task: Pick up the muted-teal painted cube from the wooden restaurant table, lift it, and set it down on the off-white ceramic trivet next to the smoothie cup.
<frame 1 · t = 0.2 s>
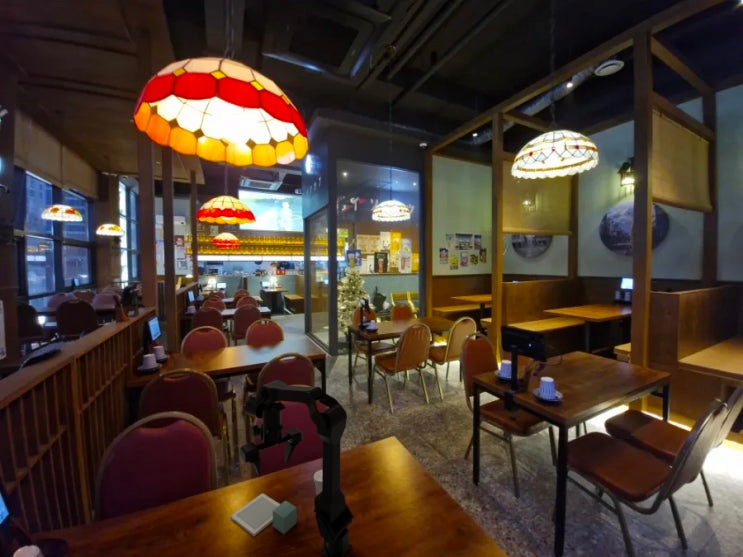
hand: (273, 469, 101), 14 cm above the table, fingers open, 9 cm apart
smoothie: (323, 504, 105), on the table
trivet: (258, 514, 100), on the table
cube: (284, 524, 96), on the table
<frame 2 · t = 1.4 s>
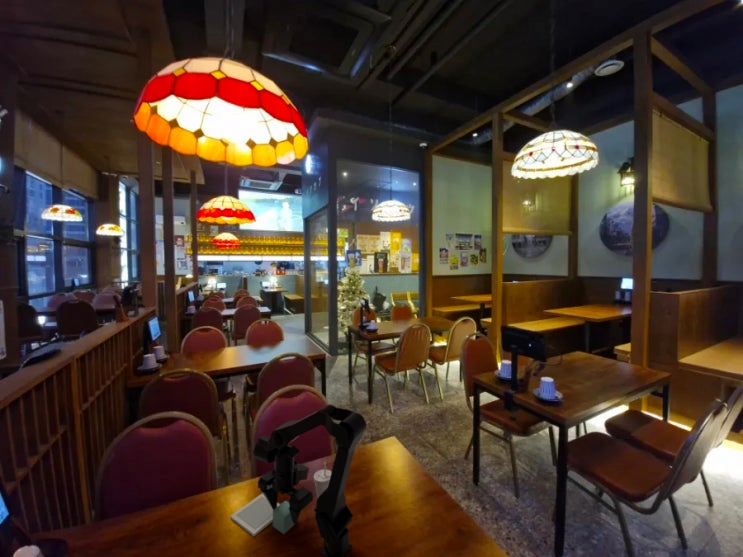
hand: (284, 516, 96), 3 cm above the table, fingers open, 9 cm apart
nothing on the table moved.
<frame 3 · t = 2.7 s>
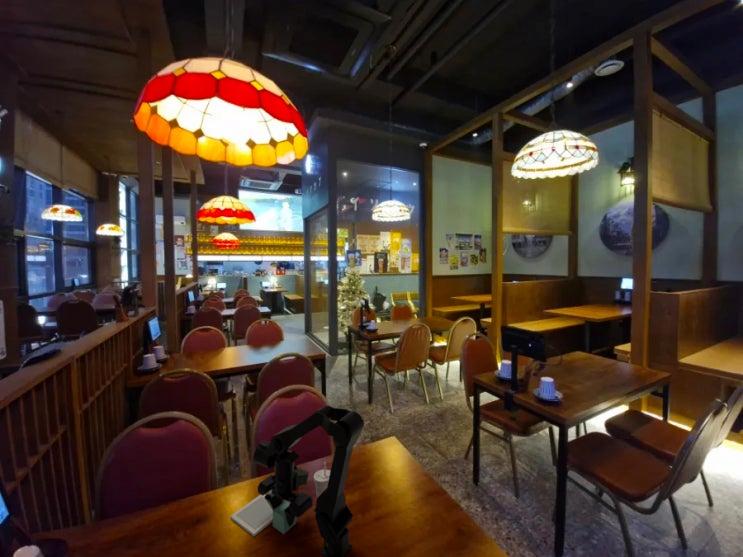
hand: (284, 521, 96), 1 cm above the table, fingers closed on cube, 5 cm apart
cube: (284, 524, 96), on the table, touching gripper
everything else where it was.
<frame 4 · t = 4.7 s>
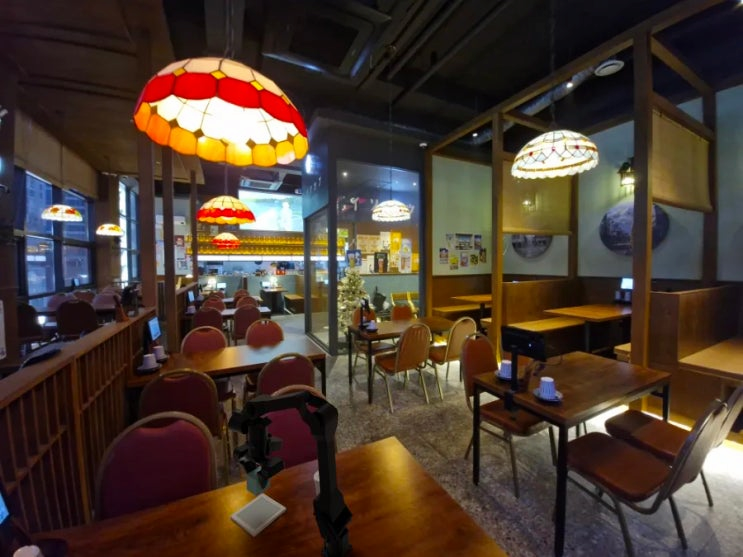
hand: (258, 485, 100), 10 cm above the table, fingers closed on cube, 5 cm apart
cube: (258, 488, 100), point 9 cm above the table, touching gripper
everything else where it was.
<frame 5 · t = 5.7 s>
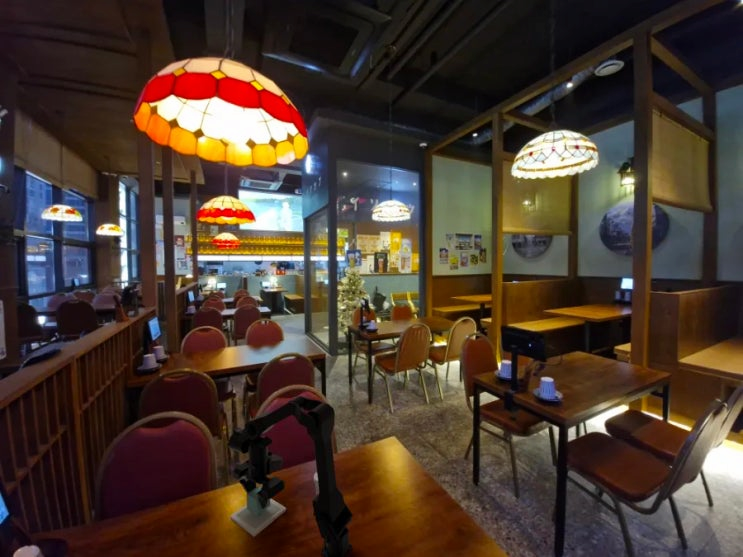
hand: (258, 504, 100), 3 cm above the table, fingers closed on cube, 5 cm apart
cube: (258, 507, 100), point 2 cm above the table, touching gripper
everything else where it was.
when the fingers open (3 cm above the table, at t = 6.6 s): cube drops 1 cm, resting on trivet.
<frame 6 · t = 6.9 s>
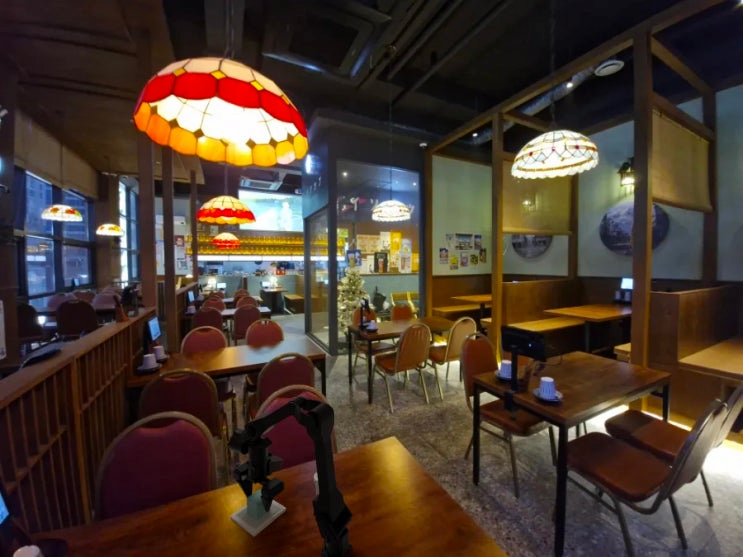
hand: (258, 505, 100), 3 cm above the table, fingers open, 9 cm apart
cube: (258, 511, 100), point 1 cm above the table, touching trivet
everything else where it was.
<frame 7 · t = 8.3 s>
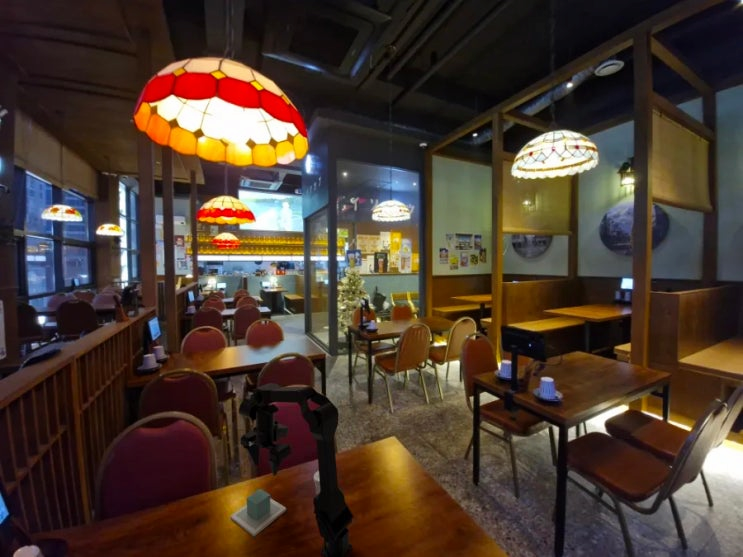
hand: (265, 470, 103), 12 cm above the table, fingers open, 9 cm apart
nothing on the table moved.
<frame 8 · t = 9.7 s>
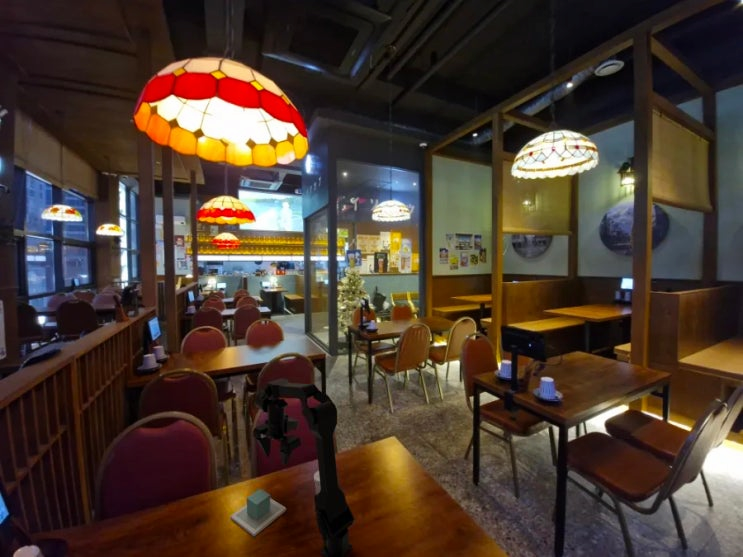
hand: (276, 461, 108), 12 cm above the table, fingers open, 9 cm apart
nothing on the table moved.
at the end: cube inside the target area on the trivet (0.1 cm from its centre), point 0.9 cm above the trivet's base; cube tilted 0°; the gripper is holding nothing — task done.
